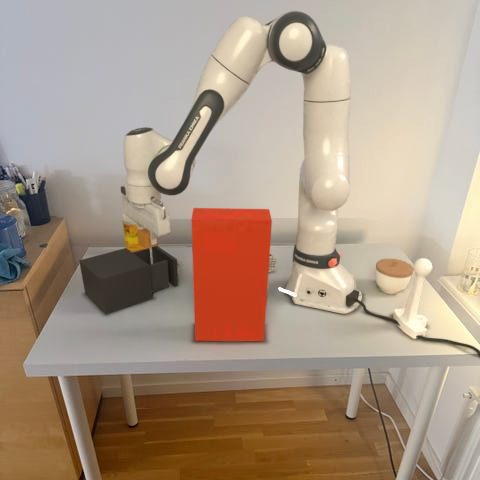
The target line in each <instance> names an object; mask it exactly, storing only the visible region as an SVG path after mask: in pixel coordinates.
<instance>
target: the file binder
mask: <svg viewBox="0 0 480 480" xmlns="http://www.w3.org/2000/svg"><path fill="white" fill-rule="evenodd" d="M191 213H192V214H191V221H190V223H191V249H192V253H191V254H192V279H193V280H192V283H193V307H194V308H193V311H194V312H193V315H194V341H195V342H264V341H265V333H266V332H265V329H266V318H267V317H266V315H267V300H268V286H269V285H268V284H269V273H270V272H269V257H270V254H271V242H272V226H273V225H272V223H273V219H272V216H271V215H272V214H271V212H270V209H269V208H228V207H227V208H225V207H223V208H221V207H193V208H192V212H191Z"/></svg>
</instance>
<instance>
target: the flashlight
mask: <svg viewBox="0 0 480 480" xmlns="http://www.w3.org/2000/svg"><path fill="white" fill-rule="evenodd" d="M277 265H278V260H277V259H276V257H275V256H273V255H272V254H271V253H270V257H269V272H268V273H271V272H273V271H274V270H275V269H276V268H277Z"/></svg>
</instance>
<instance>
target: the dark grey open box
mask: <svg viewBox="0 0 480 480" xmlns="http://www.w3.org/2000/svg"><path fill="white" fill-rule="evenodd" d="M78 262H79V267H80V273H81V279H82V283H83V289H84V294H85V295H86V296H87V297H88V299H90V300H91V301H92V302H93V303H94V304H95V305H96V306H97V307H98V308H99V309H100V310H101V311H102V313H104V314H105V315H108V314H109V315H110V314H111V313H114V312H118V311H120V310H124V309H126V308H129V307H132V306H136V305H138V304H141V303H144V302H147V301H150V300H152V299H153V292H152V290H151V279H150V267H149V264H147V263H146V262H145V261H143V260H142V259H140V258H139V257H138V256H136V255H135V254H134V253H132V252H131V251H130V250H128V249H127V248H126V247H123V248H120V249H117V250H113V251H109V252H105V253H100V254H98V255H94V256H91V257H86V258H83V259H79V260H78Z"/></svg>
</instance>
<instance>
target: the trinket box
mask: <svg viewBox="0 0 480 480" xmlns="http://www.w3.org/2000/svg"><path fill="white" fill-rule="evenodd" d="M413 273H414V270H413V265H411V263H408V262H407V261H405V260H402V259H397V258H383V259H382V258H381V259H379V260H378V261H377V262H376V263H375V271H374V281H375V283H376V286H378V288H379V290H380V291H381V292H383V293H386V294H391V295H395V294H399V293H400V292H401V291H403V290H405V289H406V288H407V287H408V285H409V283H410V281H411V280H412V279H411V278H412V275H413Z"/></svg>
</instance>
